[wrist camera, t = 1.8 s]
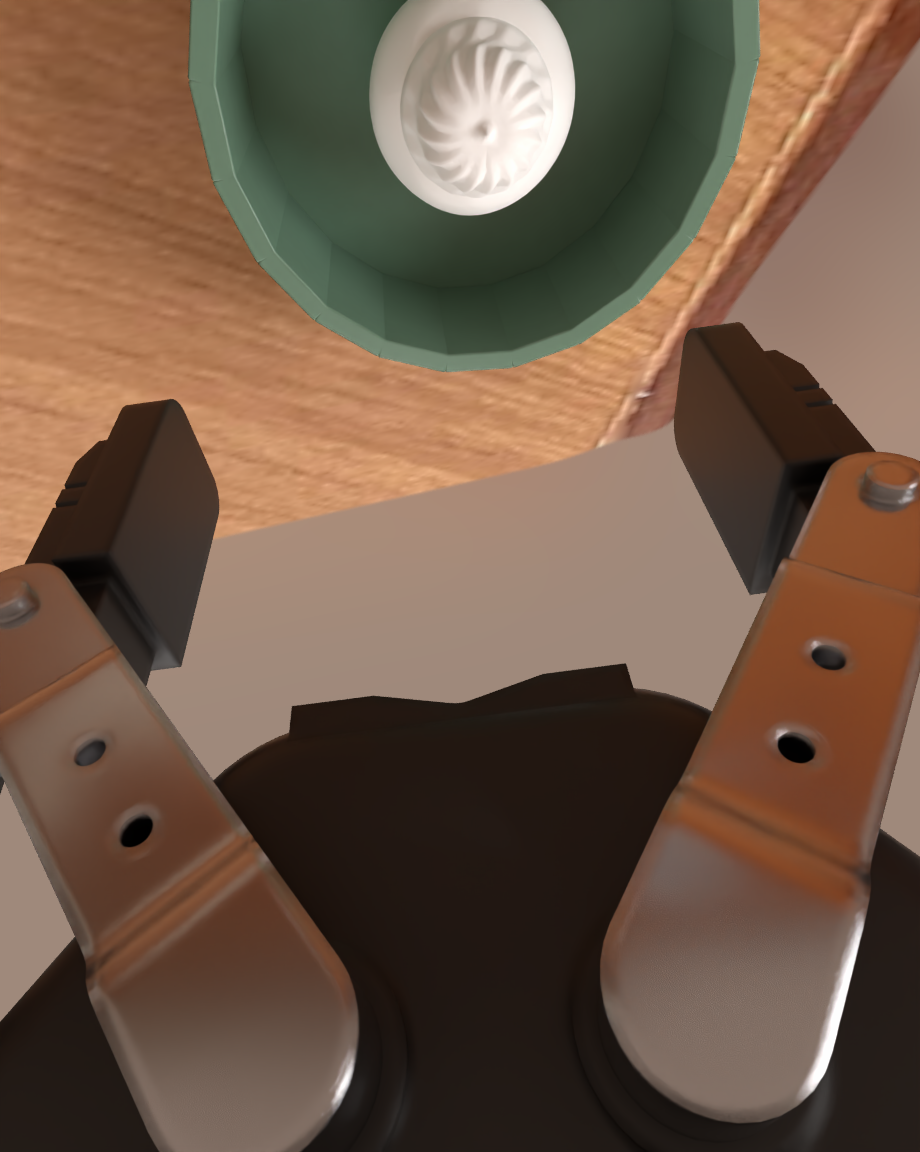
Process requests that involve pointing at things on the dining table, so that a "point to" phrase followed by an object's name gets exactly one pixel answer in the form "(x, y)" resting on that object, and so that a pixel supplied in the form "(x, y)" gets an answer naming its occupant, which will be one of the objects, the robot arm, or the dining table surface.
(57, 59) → the dining table surface
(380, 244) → the tin
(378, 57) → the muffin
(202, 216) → the dining table surface
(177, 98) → the dining table surface
